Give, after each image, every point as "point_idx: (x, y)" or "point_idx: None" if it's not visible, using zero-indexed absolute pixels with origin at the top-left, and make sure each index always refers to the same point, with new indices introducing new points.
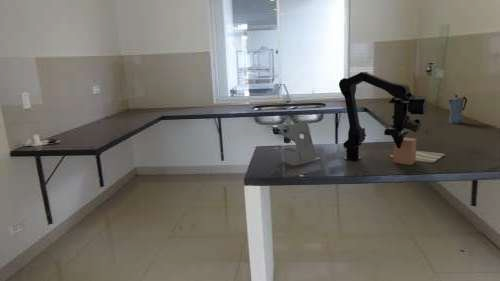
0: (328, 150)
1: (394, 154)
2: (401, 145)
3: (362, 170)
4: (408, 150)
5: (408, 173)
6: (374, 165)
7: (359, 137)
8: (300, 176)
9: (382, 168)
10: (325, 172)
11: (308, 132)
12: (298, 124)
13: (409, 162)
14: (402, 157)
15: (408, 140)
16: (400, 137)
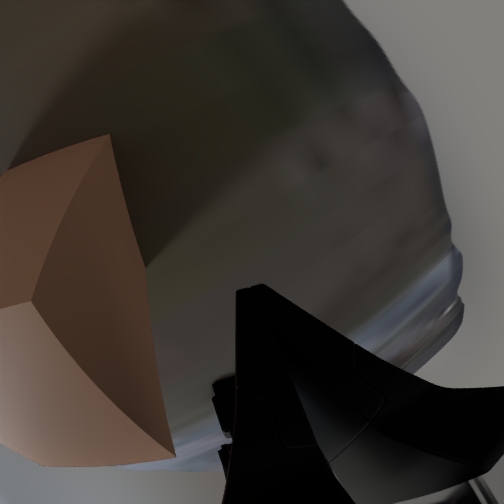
0: (197, 449)
1: (146, 307)
2: (128, 348)
3: (392, 258)
4: (93, 220)
5: (354, 42)
6: (293, 283)
7: (327, 464)
8: (454, 304)
9: (330, 220)
10: (428, 303)
11: (337, 478)
12: None
13: (108, 149)
14: (122, 232)
15: (51, 373)
16: (443, 393)
